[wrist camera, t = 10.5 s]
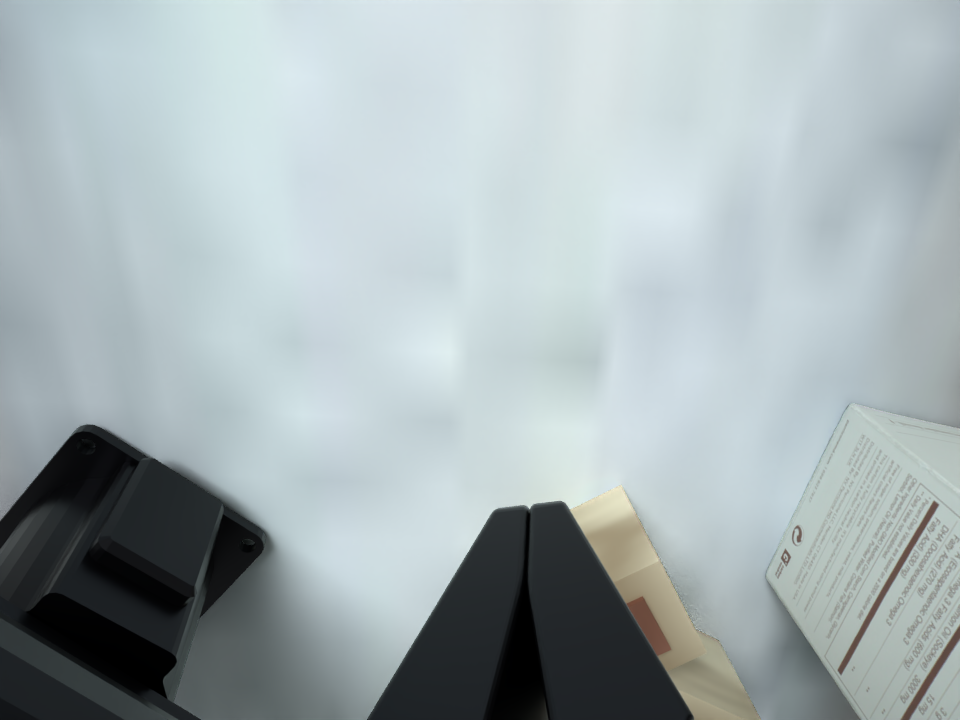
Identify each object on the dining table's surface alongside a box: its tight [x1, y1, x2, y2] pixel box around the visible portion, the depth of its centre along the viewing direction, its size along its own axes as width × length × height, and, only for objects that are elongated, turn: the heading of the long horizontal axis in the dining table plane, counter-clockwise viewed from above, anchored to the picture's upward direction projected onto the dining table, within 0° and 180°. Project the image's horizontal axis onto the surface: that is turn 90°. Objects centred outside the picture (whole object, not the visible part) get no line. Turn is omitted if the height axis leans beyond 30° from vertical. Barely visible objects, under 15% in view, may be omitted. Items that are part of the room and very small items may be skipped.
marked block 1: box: [570, 485, 707, 671], centre depth 25 cm, size 4×4×4 cm
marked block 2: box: [667, 630, 761, 720], centre depth 27 cm, size 4×4×4 cm
